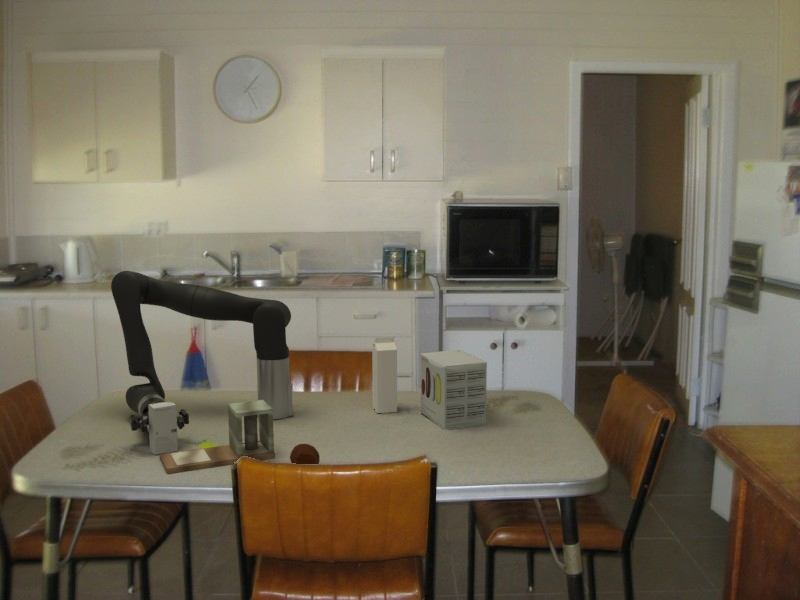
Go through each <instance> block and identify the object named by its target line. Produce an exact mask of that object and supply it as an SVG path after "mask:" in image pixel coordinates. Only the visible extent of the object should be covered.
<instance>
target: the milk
mask: <svg viewBox="0 0 800 600" xmlns="http://www.w3.org/2000/svg"><path fill="white" fill-rule="evenodd" d="M371 348H372V349H371V351H372V352H371V353H372V354H371V355H372V357H371V358H372V361H371V363H372V370H371V371H372V372H371V373H372V409H373V410H374V409H375V410H374V411H375V412H377V413H383V414H385V413H384V412H395V413H397V412H398V348H397V345H396V343H395V337H394V336H385V337H375V338H374V343H373V345H372V347H371ZM396 411H397V412H396ZM377 413H376V414H377Z"/></svg>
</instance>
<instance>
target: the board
mask: <svg viewBox="0 0 800 600" xmlns="http://www.w3.org/2000/svg"><path fill="white" fill-rule="evenodd" d="M258 415H259V416H258ZM227 416H228V417H227V418H228V421H227V422H228V444H224V445H219V446H218V445H217V446H210V447H204V448H198V449H197V448H196V449H191V450H189V449H188V450H183V451H182V450H181V451H175V452H168V453H162V454H159V461H160V460H161V461H160V462H162V463H161V464H163V465H162V467H163V466H164V467H163V468H164V470H165V472H166V474H167V475H169V474H175V473H182V472H188V471H189V470H190V471H195V470H194V469H196V470H202V469H201V468H203V469H209V468H215V467H223V466H228V465H229V464H230V465H233V464H232V463H234V462H236V461H237V460H238V459H239V458H240V457H241V456H248V457H251V458H255V459H260V460H259V461H264V460H268V459H275V458H276V453H275V440H274V439H275V438H274V435H275V434H274V432H275V431H274V419H273V408H271V407H270V406H269V405H268V404H267V403H266V402H265V401H264V400H258V399H257V400H250V401H240V402H234V403H233V402H232V403H227ZM242 420H243V422H242ZM243 427H244V428H243ZM243 429H244V431H243ZM258 431H259V432H258ZM243 432H244V442H243ZM258 434H259V435H258ZM222 465H223V466H222Z"/></svg>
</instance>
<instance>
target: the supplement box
mask: <svg viewBox="0 0 800 600" xmlns="http://www.w3.org/2000/svg"><path fill="white" fill-rule="evenodd" d="M487 363H488V362H487V361H486V360H483V359H482V358H478V357H476V356H475V355H472V354H470V353H468V352H466V351H464V350H461V349H457V350H443V351H432V352H423V353H420V414H422V415H423V416H425V417H426V416H427V417H426V418H428V419H430V421H432V422H433V423H435V424H436V425H437V426H439V427H440V428H441V429H443V430H444V429H448V430H454V429H453V428H456V429H462V428H461V427H464V428H470V426H472V427H478V426H477V425H479V426H485V424H486V425H487V375H488V374H487V373H488V371H487V369H488V364H487Z"/></svg>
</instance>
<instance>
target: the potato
mask: <svg viewBox="0 0 800 600" xmlns="http://www.w3.org/2000/svg"><path fill="white" fill-rule="evenodd" d="M289 460H290V462H291V464H292V463H296V464H320V454H319V452H318V450H317V449H316V447H315V446H314V445H312V444H308V443H299V444H296V445H295V446H294V447H293V448H292V450H291V452H290V456H289Z"/></svg>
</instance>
